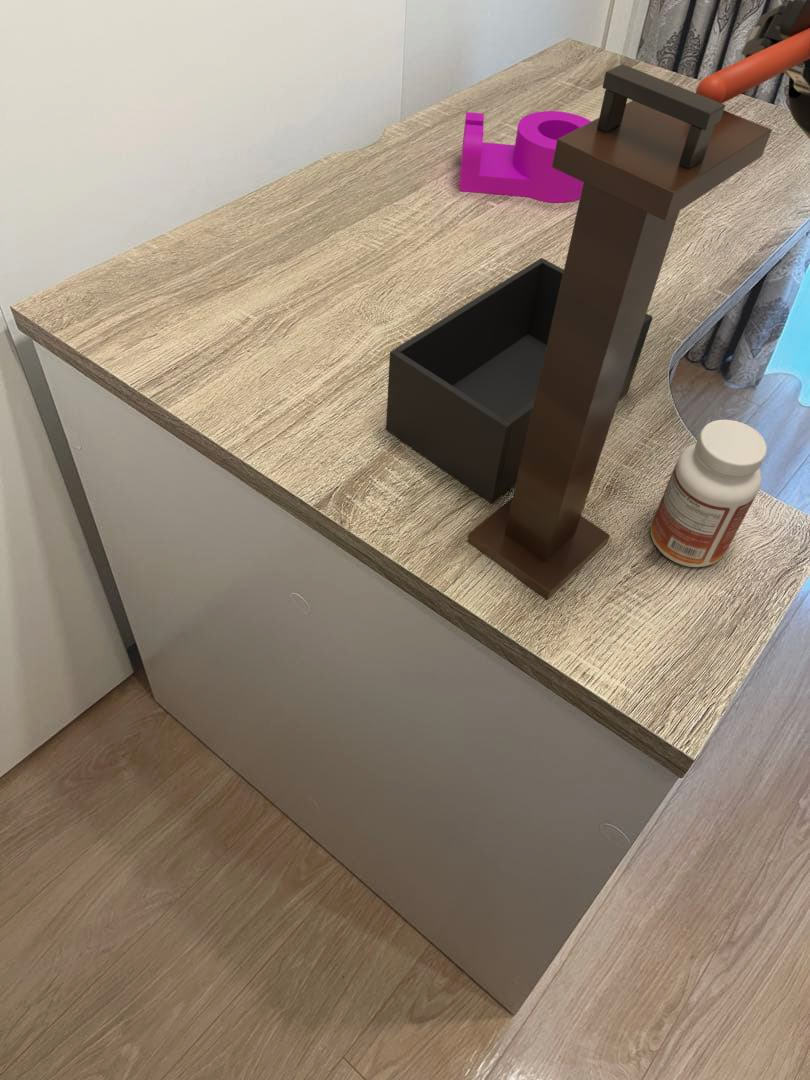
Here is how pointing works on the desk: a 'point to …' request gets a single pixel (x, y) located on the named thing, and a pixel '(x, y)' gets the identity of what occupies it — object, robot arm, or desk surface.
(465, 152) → the tape dispenser
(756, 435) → the pill bottle
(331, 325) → the desk surface
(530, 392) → the bin
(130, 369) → the desk surface
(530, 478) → the brown pedestal stand
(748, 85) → the orange red rod
